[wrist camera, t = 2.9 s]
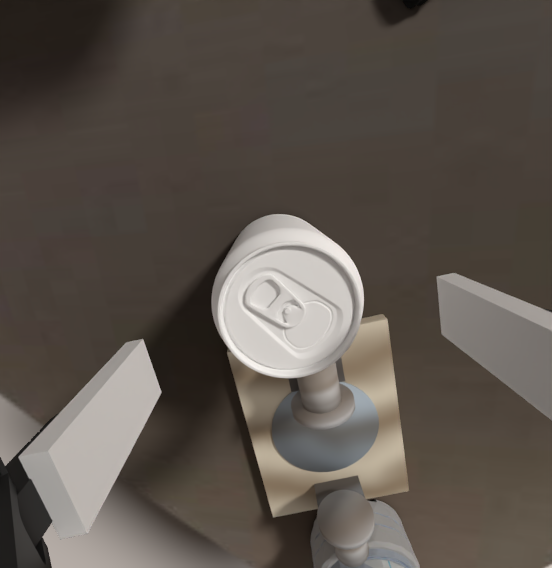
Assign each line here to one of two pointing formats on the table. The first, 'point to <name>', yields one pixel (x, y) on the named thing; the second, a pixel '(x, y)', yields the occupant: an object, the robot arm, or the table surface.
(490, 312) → the robot arm
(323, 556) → the canister
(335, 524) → the cradle
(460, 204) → the table surface
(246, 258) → the beverage can
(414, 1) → the electric trimmer
